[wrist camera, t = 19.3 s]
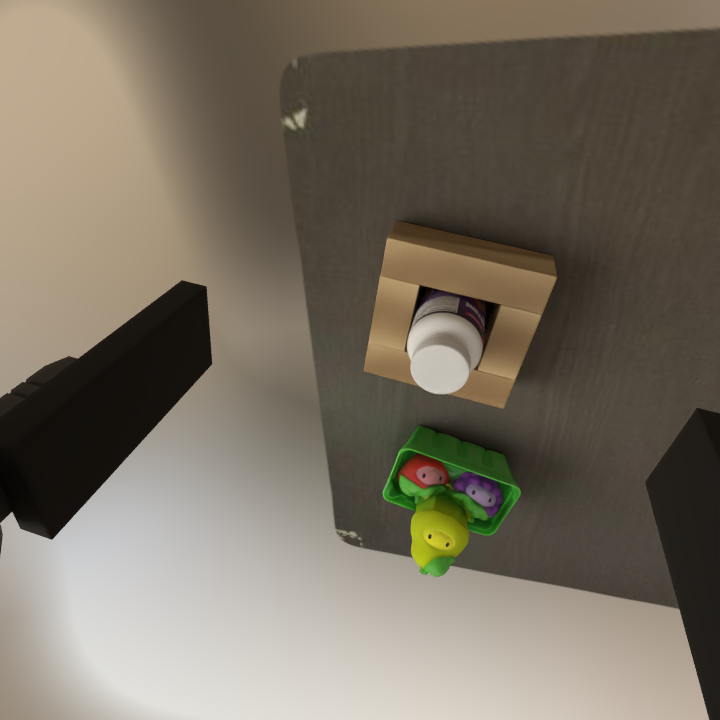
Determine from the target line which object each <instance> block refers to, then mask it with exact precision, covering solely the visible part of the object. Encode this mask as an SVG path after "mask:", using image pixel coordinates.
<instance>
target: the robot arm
mask: <svg viewBox="0 0 720 720" xmlns="http://www.w3.org/2000/svg"><path fill="white" fill-rule="evenodd" d="M206 288H207V287H206V286H203V285H198V284H194V283H190V282H186V281H181V282H179V283H178V284H176V285H175V286H174V287H172V288H171V289H170V290H169V291H167V292H166V293H165V294H163V295H162V296H161V297H159V298H158V299H157V300H156V301H154V302H153V303H151V304H150V305H149V306H148V307H146V308H145V309H143V310H142V311H141V312H139V313H138V314H137V315H135V316H134V317H133V318H131V319H130V320H129V321H127V322H126V323H125V324H123V325H122V326H121V327H119V328H118V329H117V330H116V331H114V332H113V333H112V334H110V335H109V336H107V337H106V338H105V339H103V340H102V341H101V342H99V343H98V344H97V345H96V346H94V347H93V348H92V349H90V350H89V351H88V352H87V353H85V354H84V355H82V356H81V357H80V358H78V359H77V358H73V357H70V356H68V357H66V358H64V359H61V360H58V361H56V362H54V363H51V364H49V365H47V366H44V367H43V368H42V369H40V370H39V371H37V372H36V373H35V374H33V375H32V376H30V377H29V378H28V379H26V382H25V383H24V382H22V383H21V384H19V385H18V386H16V387H15V388H14V389H12V390H11V393H10V394H8V393H7V394H5V395H4V396H2V397H1V398H0V523H1V522H2V521H3V520H4V519H5V518H6V517H7V516H8V515H9V514H10V513H11V512H13V514H14V516H15V518H16V520H17V522H18V524H19V527H20V528H21V529H23V530H26V531H29V532H31V533H34V534H37V535H40V536H43V537H46V538H49V539H53V538H54V537H55V536H56V535H57V534H58V533H59V531H60V530H61V529H62V528H63V527H64V526H65V525H66V524H67V523H68V522H69V520H70V519H71V518H72V517H73V516H74V515H75V514H76V513H77V512H78V511H79V509H80V508H81V507H82V506H83V505H84V504H85V503H86V502H87V501H88V500H89V499H90V497H91V496H92V495H93V494H94V493H95V492H96V491H97V490H98V489H99V488H100V487H101V485H102V484H103V483H104V482H105V481H106V480H107V479H108V478H109V477H110V476H111V474H112V473H113V472H114V471H115V470H116V469H117V468H118V467H119V466H120V465H121V464H122V462H123V461H124V460H125V459H126V458H127V457H128V456H129V455H130V454H131V453H132V451H133V450H134V449H135V448H136V447H137V446H138V445H139V444H140V443H141V441H142V440H143V439H144V438H145V437H146V436H147V435H148V434H149V433H150V432H151V431H152V429H153V428H154V427H155V426H156V425H157V424H158V423H159V422H160V421H161V420H162V418H163V417H164V416H165V415H166V414H167V413H168V412H169V411H170V410H171V409H172V407H173V406H174V405H175V404H176V403H177V402H178V401H179V400H180V398H182V397H183V395H184V394H185V393H186V392H187V391H188V390H189V389H190V388H191V387H192V386H193V384H194V383H195V382H196V381H197V380H198V379H199V378H200V377H201V376H202V375H203V374H204V372H205V371H206V370H207V369H208V368H209V367H210V366H211V365H212V355H211V342H210V328H209V315H208V301H207V289H206ZM645 483H646V487H647V490H648V494H649V498H650V501H651V505H652V509H653V513H654V516H655V520H656V524H657V527H658V531H659V535H660V539H661V542H662V546H663V550H664V553H665V557H666V561H667V564H668V568H669V572H670V576H671V579H672V583H673V587H674V590H675V594H676V598H677V601H678V605H679V609H680V612H681V616H682V620H683V624H684V627H685V631H686V635H687V639H688V642H689V646H690V650H691V653H692V657H693V661H694V664H695V668H696V671H697V675H698V679H699V682H700V686H701V690H702V694H703V698H704V701H705V705H706V709H707V713H708V716H709V720H720V414H719V413H715V412H711V411H707V410H703V409H699V408H697V409H696V410H695V412H694V413H693V415H692V416H691V417H690V419H689V420H688V422H687V423H686V425H685V426H684V427H683V429H682V430H681V432H680V433H679V435H678V436H677V437H676V439H675V440H674V442H673V443H672V445H671V446H670V447H669V449H668V450H667V452H666V453H665V455H664V456H663V457H662V459H661V460H660V462H659V463H658V465H657V466H656V467H655V469H654V470H653V472H652V473H651V475H650V476H649V477H648V479H647V480H646V482H645ZM2 535H3V534H2V529H1V525H0V553H1V544H2Z"/></svg>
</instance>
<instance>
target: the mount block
mask: <svg viewBox="0 0 720 720" xmlns="http://www.w3.org/2000/svg"><path fill="white" fill-rule="evenodd" d="M556 280H557V273H556V267H555V262H554V257H553V256H552V255H547V254H543V253H538V252H534V251H529V250H525V249H521V248H516V247H512V246H507V245H503V244H498V243H494V242H489V241H485V240H481V239H476V238H472V237H467V236H463V235H458V234H454V233H450V232H445V231H441V230H436V229H432V228H427V227H423V226H419V225H414V224H410V223H405V222H401V221H397V223H396V225H395V226H394V228H393V230H392V231H391V233H390V235H389V236H388V238H387V242H386V248H385V253H384V259H383V265H382V270H381V276H380V281H379V287H378V292H377V298H376V303H375V309H374V315H373V320H372V326H371V331H370V337H369V343H368V348H367V354H366V360H365V365H364V371H365V372H368V373H372V374H376V375H379V376H383V377H387V378H391V379H394V380H398V381H402V382H406V383H409V384H413V385H417V386H419V385H418V384H417V383H416V382H415V380H414V379H413V377H412V374H411V370H410V365H411V360H410V358H409V355H408V351H407V340H408V336H409V332H410V330H411V327H412V324H413V321H414V318H415V314H416V309H417V305H418V301H419V297H420V292H421V288H422V286H426V287H431V288H435V289H439V290H443V291H447V292H451V293H455V294H460V295H464V296H468V297H472V298H476V299H480V300H484V301H489V302H493V303H494V306H493V309H492V312H491V315H490V318H489V321H488V324H487V327H486V330H485V333H484V339H483V350H482V355H481V358H480V360H479V362H478V364H477V366H476V367H475V368H474V369H473V370H472V371H471V372H470V374H469V378H468V380H467V382H466V383H465V385H464V386H463V387H462V388H460V389H459V390H457V391H455V392H453V393H449V394H450V395H454V396H458V397H462V398H465V399H469V400H473V401H476V402H480V403H484V404H488V405H491V406H495V407H499V408H503V409H504V407H505V404H506V402H507V399H508V397H509V395H510V392H511V390H512V387H513V385H514V382H515V379H516V377H517V375H518V372H519V370H520V368H521V365H522V363H523V360H524V358H525V355H526V353H527V350H528V348H529V346H530V343H531V341H532V338H533V336H534V333H535V331H536V329H537V326H538V324H539V321H540V319H541V316H542V314H543V311H544V309H545V307H546V304H547V302H548V299H549V297H550V294H551V292H552V290H553V287H554V285H555V282H556Z"/></svg>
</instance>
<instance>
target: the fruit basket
mask: <svg viewBox="0 0 720 720" xmlns="http://www.w3.org/2000/svg"><path fill="white" fill-rule="evenodd" d="M520 494H521V491H520V489H519V487H518V485H517V483H516V482H515V481H514V478H513V476H512V473H511V471H510V468H509V466H508V463H507V460H506V458H505V456H504V455H503V454H501V453H498V452H495V451H492V450H485V449H484V448H482V447H480V446H478V445H475V444H472V443H469V442H464V441H462V442H461V441H460V440H458V439H457V438H455V437H452V436H449V435H446V434H443V433H436V432H435V431H433V430H431V429H429V428H426V427H423V426H418V427H417V428H416V430H415V431H414V433H413V434H412V436H411V437H410V439H409V440H408V442H407V443H406V445H404V446H403V447H402V448H401V450H400V451H399V453H398V455H397V458H396V461H395V464H394V466H393V469H392V471H391V474H390V476H389V479H388V481H387V484H386V486H385V488H384V490H383V497H384V498H385V499H386V500H387V501H389V502H392V503H394V504H397V505H400V506H403V507H405V508H408V509H411V510H413V511H416V513H415V514H414V515H413V518H412V521H411V535H412V546H411V554H412V556H413V558H414V560H415V561H416V562H417V564H418V565H419V566H420V567H421V569H420V572H421V573H422V574H424V575H426V574H427V573H430V574H431V575H433V576H435V577H439V576H442V575H444V574H445V573H446V572H447V570H448V569H449V567H450V565H451V564H452V563H454V562H455V557H456V556H457V555H459V554H460V553H461V552H462V551H463V549H464V548H465V547H466V545H467V543H468V539H469V531H468V530H470V531H473V532H475V533H478V534H482V535H487V536H488V535H492V534H494V533H495V532H496V531H497V529H498V527H499V526H500V525H501V523H502V522H503V520H504V519H505V517H506V516H507V514H508V513H509V512H510V510H511V508H512V507H513V505H514V504H515V503H516V502H517V500H518V498H519V496H520Z"/></svg>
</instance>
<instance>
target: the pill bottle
mask: <svg viewBox="0 0 720 720" xmlns="http://www.w3.org/2000/svg"><path fill="white" fill-rule="evenodd" d="M485 316H486V305H485V301H484V300H480V299H476V298H472V297H468V296H464V295H460V294H455V293H451V292H447V291H443V290H439V289H435V288H431V287H429V288H428V289H427V290H426V291H425V292H424V294H423V296H422V298H421V300H420V304H419V306H418V309H417V312H416V315H415V318H414V321H413V324H412V327H411V330H410V332H409V336H408V340H407V351H408V355H409V358H410V360H411V365H410V370H411V374H412V377H413V379H414V380H415V382H416V383H417V384H418V385H419V386H420V387H422V388H423V389H425V390H426V391H429V392H431V393H435V394H449V393H453V392H455V391H457V390H459V389H460V388H462V387H463V386H464V385H465V383H466V382H467V380H468V378H469V374H470V372H471V371H472V370H473V369H474V368H475V367H476V366H477V364H478V362H479V360H480V358H481V355H482V350H483V339H484V327H485Z"/></svg>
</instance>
